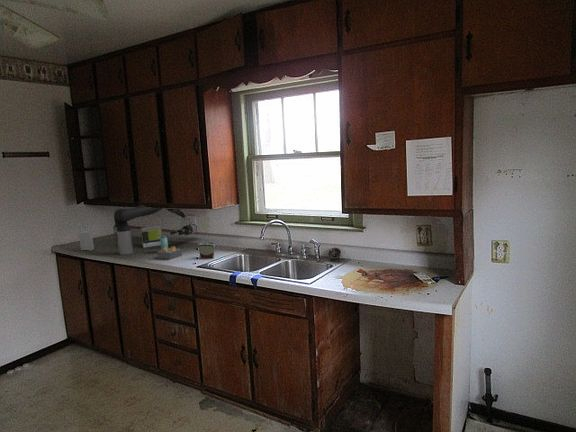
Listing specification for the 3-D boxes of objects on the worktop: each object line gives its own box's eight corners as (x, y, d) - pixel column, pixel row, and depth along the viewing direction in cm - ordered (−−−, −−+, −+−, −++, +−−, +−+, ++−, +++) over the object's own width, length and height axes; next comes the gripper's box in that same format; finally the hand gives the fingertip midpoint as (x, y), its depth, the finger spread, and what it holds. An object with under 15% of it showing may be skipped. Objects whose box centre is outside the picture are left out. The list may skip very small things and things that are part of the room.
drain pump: (159, 252, 288) (158, 236, 286) (165, 251, 292) (163, 235, 291) (164, 253, 286) (163, 237, 284) (169, 251, 290) (168, 235, 288)
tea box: (161, 243, 323) (159, 225, 321) (163, 245, 314) (161, 227, 312) (142, 245, 317) (140, 227, 315) (143, 248, 308) (141, 229, 306)
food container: (219, 256, 268) (217, 242, 266) (215, 258, 262) (213, 244, 261) (202, 256, 271) (201, 242, 270) (198, 258, 265) (197, 243, 264)
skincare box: (94, 248, 314) (92, 230, 312) (91, 250, 308) (89, 232, 306) (83, 249, 313) (80, 231, 310) (80, 251, 307) (77, 232, 305)
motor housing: (157, 258, 270) (156, 249, 270) (170, 254, 281) (169, 245, 280) (169, 259, 265) (168, 250, 264) (181, 255, 276) (181, 246, 275)
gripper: (182, 224, 314) (167, 228, 300) (196, 225, 307) (181, 229, 293) (183, 233, 315) (168, 238, 301) (196, 234, 308) (182, 239, 294)
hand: (174, 233), depth 297 cm, fingers open, 8 cm apart
